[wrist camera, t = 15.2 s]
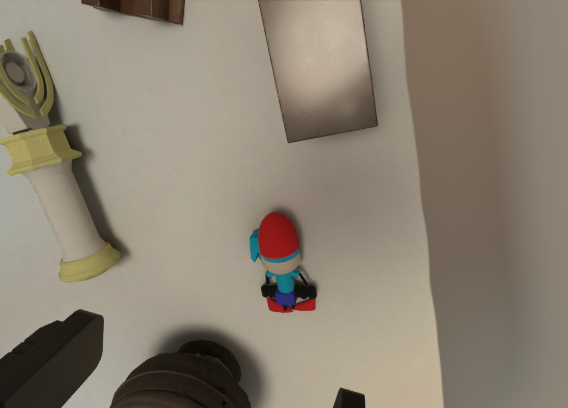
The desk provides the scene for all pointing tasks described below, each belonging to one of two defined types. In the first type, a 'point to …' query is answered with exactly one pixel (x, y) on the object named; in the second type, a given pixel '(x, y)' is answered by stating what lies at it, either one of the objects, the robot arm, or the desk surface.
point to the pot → (185, 380)
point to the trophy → (48, 163)
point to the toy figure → (281, 264)
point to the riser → (319, 66)
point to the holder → (143, 8)
